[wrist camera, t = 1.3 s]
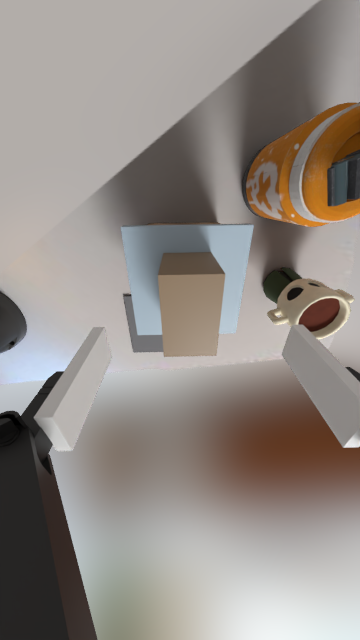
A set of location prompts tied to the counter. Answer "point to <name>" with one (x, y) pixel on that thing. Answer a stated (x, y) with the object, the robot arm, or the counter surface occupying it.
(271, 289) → the character mug
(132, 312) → the mat
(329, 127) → the canister
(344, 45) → the counter surface
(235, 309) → the lid
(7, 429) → the robot arm
